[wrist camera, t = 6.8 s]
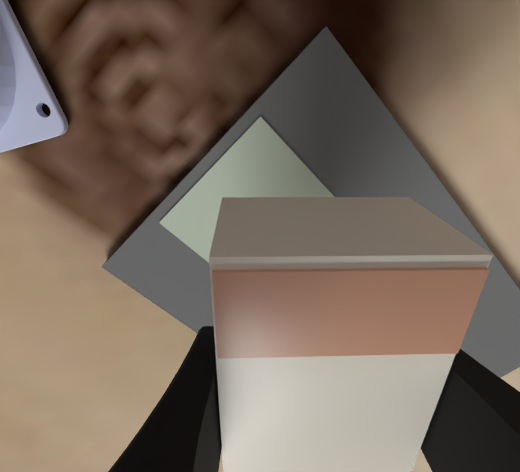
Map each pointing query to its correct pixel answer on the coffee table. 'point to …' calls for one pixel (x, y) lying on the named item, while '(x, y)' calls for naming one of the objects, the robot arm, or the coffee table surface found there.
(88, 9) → the coffee table surface
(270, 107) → the mat
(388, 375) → the card box
